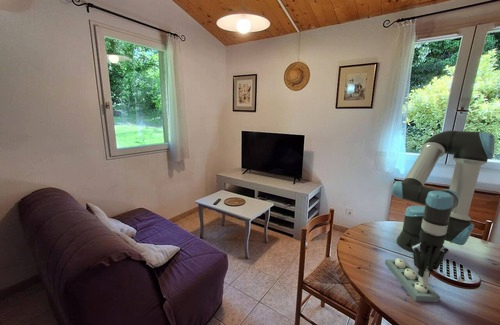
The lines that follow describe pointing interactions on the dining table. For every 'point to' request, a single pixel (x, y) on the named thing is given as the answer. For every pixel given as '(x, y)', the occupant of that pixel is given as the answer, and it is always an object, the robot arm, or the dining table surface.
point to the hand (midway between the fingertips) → (422, 282)
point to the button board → (412, 283)
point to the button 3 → (421, 287)
